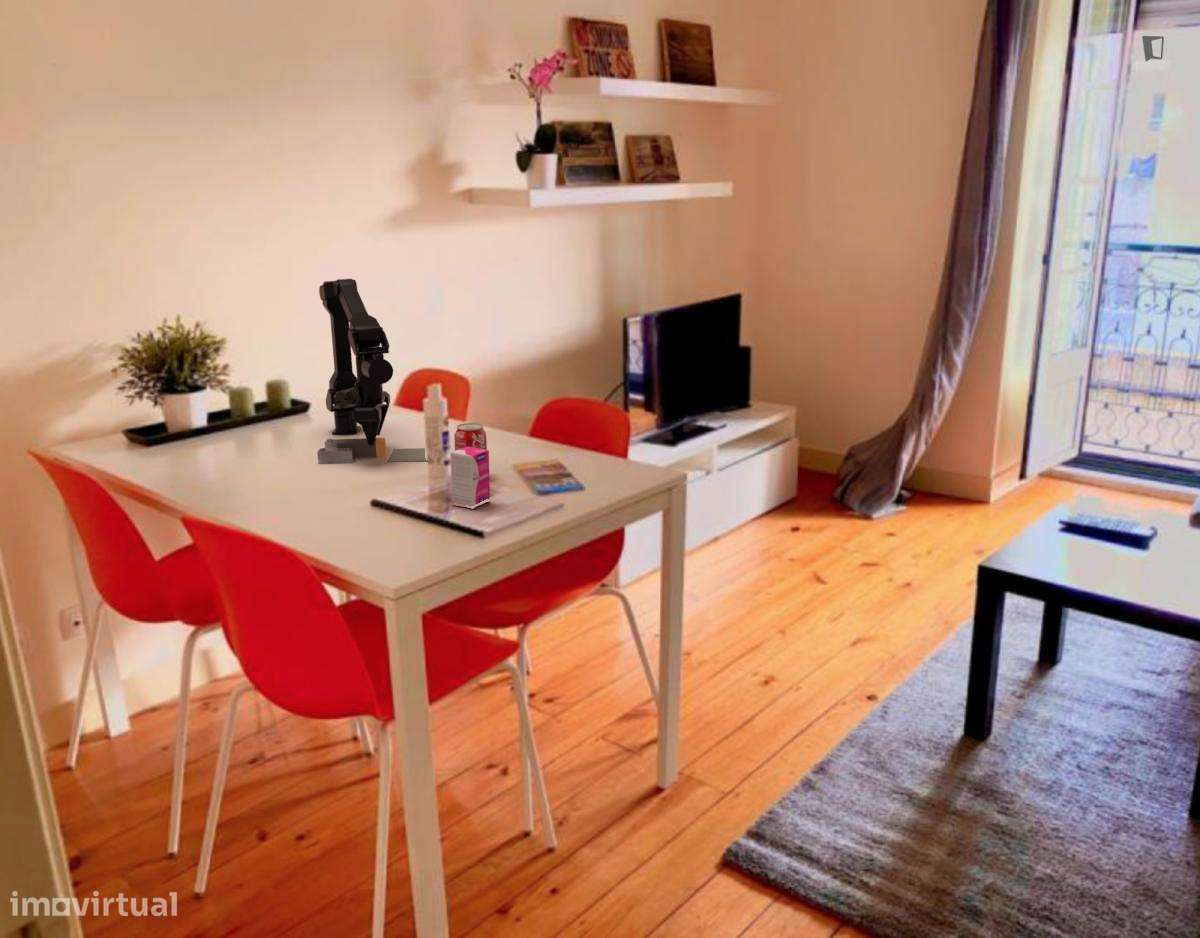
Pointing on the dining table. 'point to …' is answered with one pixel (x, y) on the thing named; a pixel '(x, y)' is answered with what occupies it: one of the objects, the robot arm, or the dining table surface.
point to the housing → (335, 453)
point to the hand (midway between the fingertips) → (374, 440)
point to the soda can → (470, 436)
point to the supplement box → (470, 476)
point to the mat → (407, 455)
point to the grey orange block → (364, 447)
